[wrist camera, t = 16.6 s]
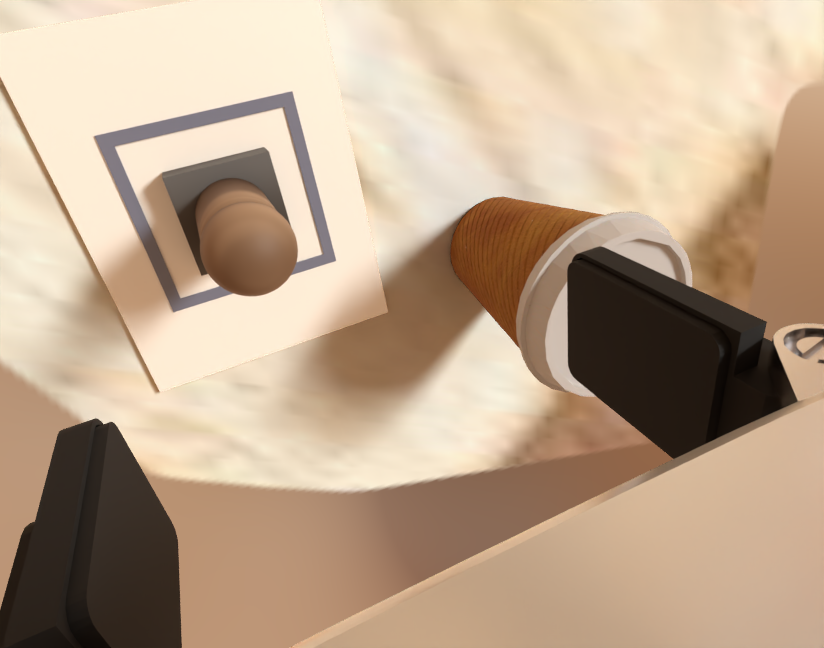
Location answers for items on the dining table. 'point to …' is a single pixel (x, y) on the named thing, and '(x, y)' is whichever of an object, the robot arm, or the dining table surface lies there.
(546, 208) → the disposable coffee cup
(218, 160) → the stamp
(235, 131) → the sheet
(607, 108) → the dining table surface
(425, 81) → the dining table surface
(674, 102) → the dining table surface
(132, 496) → the robot arm
